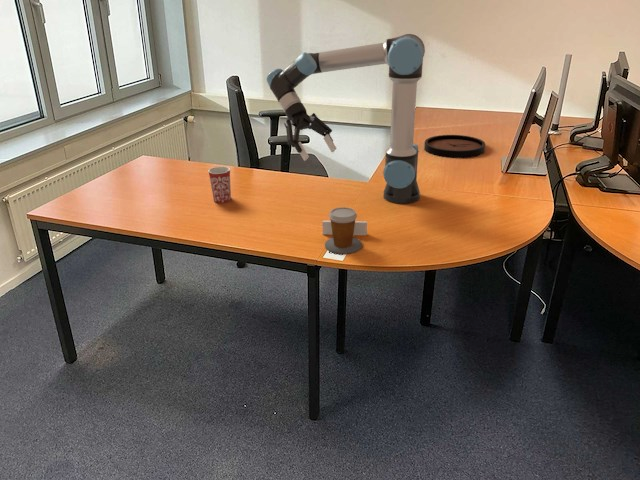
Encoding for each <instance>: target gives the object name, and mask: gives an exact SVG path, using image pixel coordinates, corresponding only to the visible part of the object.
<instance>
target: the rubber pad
mask: <svg viewBox="0 0 640 480" xmlns="http://www.w3.org/2000/svg"><path fill="white" fill-rule="evenodd" d="M362 248H363V242H362V240H360V239H358V238H356V237H354V236H353V240H352V245H351V246H350V247H346V248H339V247H336V246H335V245H334V241H333V237H330V238H328V239H327V240H326V241H325V242H324V249H326V250H327V251H328V252H331V253H333V254H337V255H351V254H354V253H357V252H358V251H360V250H362Z"/></svg>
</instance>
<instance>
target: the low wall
mask: <svg viewBox="0 0 640 480" xmlns="http://www.w3.org/2000/svg"><path fill="white" fill-rule="evenodd" d="M321 226H322V235H329V236H333V234H332V227H331V220H322V225H321ZM367 235H368V221H365V220H355V226H354V233H353V236H367Z"/></svg>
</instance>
